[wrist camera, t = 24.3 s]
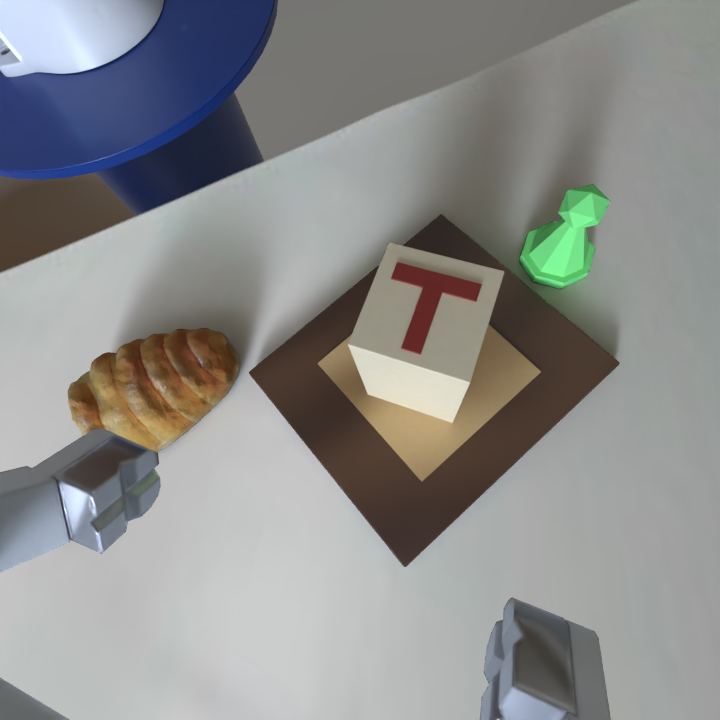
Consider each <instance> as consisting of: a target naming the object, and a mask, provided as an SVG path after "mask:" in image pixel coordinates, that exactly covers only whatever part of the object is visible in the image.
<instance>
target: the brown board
mask: <svg viewBox="0 0 720 720" xmlns="http://www.w3.org/2000/svg"><path fill="white" fill-rule="evenodd" d="M403 246H406V247H410V248H414V249H418V250H422V251H426V252H430V253H434V254H438V255H442V256H446V257H450V258H454V259H458V260H462V261H466V262H470V263H474V264H478V265H481V266H485V267H489V268H493V269H497V270H501V271H504V276H503V279H502V282H501V285H500V289H499V292H498V295H497V298H496V301H495V305H494V308H493V311H492V314H491V318H490V321H489V324H488V327H487V330H486V334H485V337H484V340H483V343H482V347H481V350H480V353H479V356H478V359H477V363H476V366H475V369H474V372H473V376H472V379H471V382H470V384H469V387H468V389H467V391H466V394H465V396H464V398H463V401H462V403H461V405H460V407H459V410H458V412H457V414H456V417H455V419H454V421H453V423H451V422H448V421H445V420H442V419H439V418H436V417H433V416H430V415H427V414H424V413H421V412H418V411H415V410H412V409H409V408H406V407H404V406H401V405H398V404H395V403H392V402H389V401H386V400H383V399H380V398H377V397H374V396H371V395H368V394H367V391H366V389H365V386H364V384H363V381H362V379H361V376H360V374H359V371H358V369H357V366H356V364H355V361H354V359H353V356H352V354H351V351H350V349H349V346H348V343H349V340H350V338H351V335H352V333H353V330H354V328H355V325H356V323H357V320H358V318H359V315H360V313H361V310H362V308H363V305H364V303H365V300H366V298H367V295H368V293H369V290H370V288H371V285H372V283H373V280H374V278H375V275H376V273H377V270H378V268H379V266H378V267H376V268H375V269H374V270H373V271H371V272H370V273H369V274H368V275H367V276H365V277H364V278H363V279H362V280H360V281H359V282H358V283H357V284H356V285H354V286H353V287H352V288H351V289H350V290H348V291H347V292H346V293H345V294H343V295H342V296H341V297H340V298H339V299H337V300H336V301H335V302H334V303H332V304H331V305H330V306H329V307H328V308H326V309H325V310H324V311H323V312H322V313H320V314H319V315H318V316H317V317H315V318H314V319H313V320H312V321H311V322H309V323H308V324H307V325H306V326H304V327H303V328H302V329H301V330H300V331H298V332H297V333H296V334H295V335H294V336H292V337H291V338H290V339H289V340H287V341H286V342H285V343H284V344H283V345H281V346H280V347H279V348H278V349H277V350H275V351H274V352H273V353H272V354H270V355H269V356H268V357H267V358H266V359H264V360H263V361H262V362H261V363H259V364H258V365H257V366H256V367H255V368H253V369H252V370H251V371H250V372H249V374H250V375H251V377H252V378H253V379H254V380H255V382H256V383H257V384H258V385H259V387H260V388H261V389H262V390H263V391H264V393H265V394H266V395H267V396H268V398H269V399H270V400H271V401H272V403H273V404H274V405H275V406H276V408H277V409H278V410H279V411H280V413H281V414H282V415H283V416H284V418H285V419H286V420H287V421H288V423H289V424H290V425H291V426H292V428H293V429H294V430H295V431H296V433H297V434H298V435H299V436H300V438H301V439H302V440H303V441H304V443H305V444H306V445H307V446H308V448H309V449H310V450H311V451H312V453H313V454H314V455H315V456H316V458H317V459H318V460H319V461H320V463H321V464H322V465H323V466H324V468H325V469H326V470H327V471H328V473H329V474H330V475H331V476H332V478H333V479H334V480H335V481H336V483H337V484H338V485H339V486H340V488H341V489H342V490H343V491H344V493H345V494H346V495H347V496H348V498H349V499H350V500H351V501H352V502H353V504H354V505H355V506H356V507H357V509H358V510H359V511H360V512H361V514H362V515H363V516H364V517H365V519H366V520H367V521H368V522H369V524H370V525H371V526H372V527H373V529H374V530H375V531H376V532H377V534H378V535H379V536H380V537H381V539H382V540H383V541H384V542H385V544H386V545H387V546H388V547H389V549H390V550H391V551H392V552H393V554H394V555H395V556H396V557H397V559H398V560H399V561H400V562H401V564H402V565H403V566H404V567H406V566H407V565H408V564H409V563H410V562H412V561H413V560H414V559H415V558H416V557H417V556H418V555H419V554H420V553H421V552H422V551H423V550H424V549H425V548H426V547H427V546H428V545H429V544H430V543H432V542H433V541H434V540H435V539H436V538H437V537H438V536H439V535H440V534H441V533H442V532H443V531H444V530H445V529H446V528H447V527H448V526H449V525H451V524H452V523H453V522H454V521H455V520H456V519H457V518H458V517H459V516H460V515H461V514H462V513H463V512H464V511H465V510H466V509H467V508H468V507H469V506H471V505H472V504H473V503H474V502H475V501H476V500H477V499H478V498H479V497H480V496H481V495H482V494H483V493H484V492H485V491H486V490H487V489H488V488H490V487H491V486H492V485H493V484H494V483H495V482H496V481H497V480H498V479H499V478H500V477H501V476H502V475H503V474H504V473H505V472H506V471H507V470H508V469H510V468H511V467H512V466H513V465H514V464H515V463H516V462H517V461H518V460H519V459H520V458H521V457H522V456H523V455H524V454H525V453H526V452H527V451H528V450H530V449H531V448H532V447H533V446H534V445H535V444H536V443H537V442H538V441H539V440H540V439H541V438H542V437H543V436H544V435H545V434H546V433H547V432H549V431H550V430H551V429H552V428H553V427H554V426H555V425H556V424H557V423H558V422H559V421H560V420H561V419H562V418H563V417H564V416H565V415H566V414H567V413H569V412H570V411H571V410H572V409H573V408H574V407H575V406H576V405H577V404H578V403H579V402H580V401H581V400H582V399H583V398H584V397H585V396H586V395H588V394H589V393H590V392H591V391H592V390H593V389H594V388H595V387H596V386H597V385H598V384H599V383H600V382H601V381H602V380H603V379H604V378H605V377H606V376H608V375H609V374H610V373H611V372H612V371H613V370H614V369H615V368H616V367H617V366H618V365H619V364H620V363H619V362H618V361H617V360H616V359H615V358H613V357H612V356H611V355H610V354H609V353H607V352H606V351H605V350H604V349H603V348H601V347H600V346H599V345H598V344H597V343H595V342H594V341H593V340H592V339H591V338H589V337H588V336H587V335H586V334H585V333H583V332H582V331H581V330H580V329H579V328H577V327H576V326H575V325H574V324H573V323H571V322H570V321H569V320H568V319H567V318H565V317H564V316H563V315H562V314H561V313H559V312H558V311H557V310H556V309H555V308H553V307H552V306H551V305H550V304H549V303H547V302H546V301H545V300H544V299H543V298H541V297H540V296H539V295H538V294H537V293H535V292H534V291H533V290H532V289H531V288H529V287H528V286H527V285H526V284H525V283H523V282H522V281H521V280H520V279H519V278H517V277H516V276H515V275H514V274H513V273H511V272H510V271H509V270H508V269H507V268H505V267H504V266H503V265H502V264H501V263H499V262H498V261H497V260H496V259H495V258H493V257H492V256H491V255H490V254H489V253H487V252H486V251H485V250H484V249H483V248H481V247H480V246H479V245H478V244H477V243H475V242H474V241H473V240H472V239H471V238H469V237H468V236H467V235H466V234H465V233H463V232H462V231H461V230H460V229H459V228H457V227H456V226H455V225H454V224H453V223H451V222H450V221H449V220H448V219H447V218H445V217H444V216H443V215H440V216H438V217H437V218H436V219H435V220H434V221H432V222H431V223H430V224H429V225H427V226H426V227H425V228H424V229H423V230H421V231H420V232H419V233H418V234H416V235H415V236H414V237H413V238H412V239H410V240H409V241H408V242H407V243H406V244H404V245H403Z"/></svg>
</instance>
